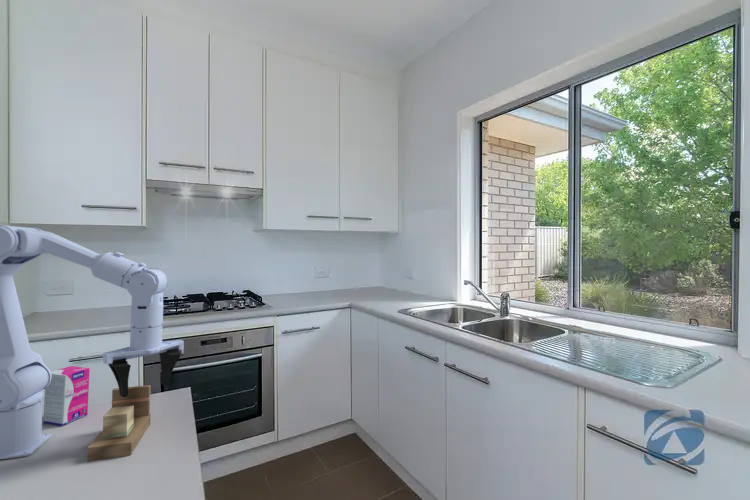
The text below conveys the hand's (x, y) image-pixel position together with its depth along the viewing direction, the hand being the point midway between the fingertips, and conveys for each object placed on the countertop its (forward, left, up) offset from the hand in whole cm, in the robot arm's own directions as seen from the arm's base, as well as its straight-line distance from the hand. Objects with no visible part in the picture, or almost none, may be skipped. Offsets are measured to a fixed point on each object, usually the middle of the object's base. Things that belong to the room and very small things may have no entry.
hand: (144, 390), depth 74 cm
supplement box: (-19, +14, -10) cm, 26 cm away
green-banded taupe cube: (-4, -2, -8) cm, 9 cm away
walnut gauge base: (-4, 0, -10) cm, 11 cm away
